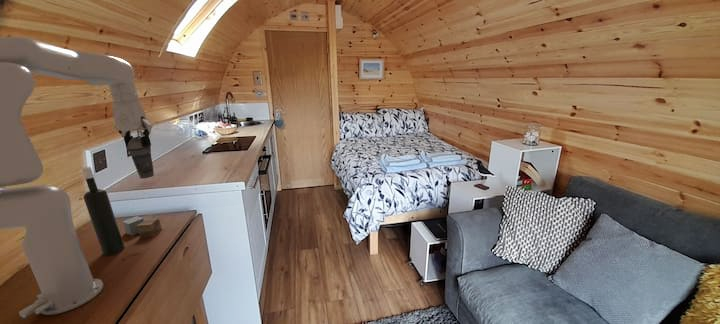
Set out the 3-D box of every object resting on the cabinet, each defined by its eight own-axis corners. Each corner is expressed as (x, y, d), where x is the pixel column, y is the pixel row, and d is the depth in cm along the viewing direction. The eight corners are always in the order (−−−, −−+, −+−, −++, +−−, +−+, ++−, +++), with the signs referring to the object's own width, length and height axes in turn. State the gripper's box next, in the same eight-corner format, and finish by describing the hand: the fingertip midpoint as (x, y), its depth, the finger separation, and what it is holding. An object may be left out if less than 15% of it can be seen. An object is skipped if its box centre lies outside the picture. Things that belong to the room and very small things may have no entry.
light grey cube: (132, 235, 111) (128, 224, 110) (126, 233, 114) (122, 221, 112) (146, 229, 115) (143, 218, 114) (140, 227, 118) (137, 216, 117)
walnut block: (154, 236, 110) (150, 224, 108) (140, 237, 110) (136, 225, 108) (162, 230, 115) (158, 218, 113) (148, 231, 114) (145, 219, 113)
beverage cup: (140, 175, 118) (126, 125, 113) (160, 172, 120) (148, 123, 115) (132, 180, 112) (117, 128, 106) (154, 177, 114) (140, 126, 108)
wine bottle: (99, 253, 100) (70, 169, 92) (118, 245, 105) (92, 164, 97) (108, 257, 98) (79, 171, 89) (128, 248, 103) (101, 165, 94)
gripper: (96, 101, 106) (111, 149, 111) (136, 98, 103) (149, 148, 107) (116, 99, 113) (129, 144, 118) (154, 97, 110) (166, 144, 114)
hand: (138, 146), depth 113 cm, fingers closed on beverage cup, 6 cm apart
